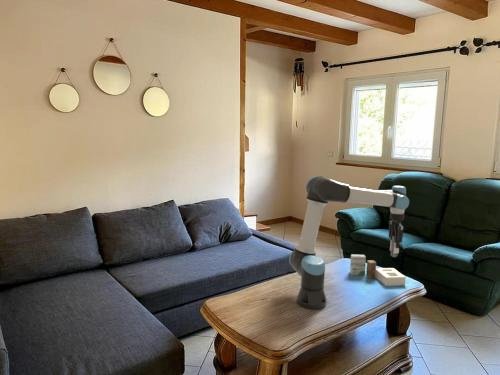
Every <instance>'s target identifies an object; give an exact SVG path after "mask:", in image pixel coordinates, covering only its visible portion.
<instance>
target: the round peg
mask: <svg viewBox="0 0 500 375" xmlns="http://www.w3.org/2000/svg"><path fill="white" fill-rule="evenodd" d="M394 242H395V235H393V236H392V245H391V251H390V257H392V258H397V257H398V253H394Z"/></svg>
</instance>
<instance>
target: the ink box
mask: <svg viewBox="0 0 500 375" xmlns="http://www.w3.org/2000/svg"><path fill="white" fill-rule="evenodd" d="M366 267H367V257H366V255H365V254H350V266H349V273H350V275H355V276H357V275H359V276H366Z"/></svg>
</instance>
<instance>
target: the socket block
mask: <svg viewBox="0 0 500 375" xmlns="http://www.w3.org/2000/svg"><path fill="white" fill-rule="evenodd" d="M375 279H377V280H378V281H379V282H380V283H382V284H383V285H384V286H386V287H388V286H389V287H390V286H391V287H393V286H405V285H406V276H405V275H404V274H402V273H401V272H399V271H398V270H397V269H396V268H394V267H383V268H382V267H380V268H379V267H378V268H377V267H376V274H375Z"/></svg>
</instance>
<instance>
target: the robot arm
mask: <svg viewBox="0 0 500 375" xmlns="http://www.w3.org/2000/svg"><path fill="white" fill-rule="evenodd" d="M305 190H306V193H307V194H306V199H305V200H307V206H306V211H305V216H304V220H303V225H302V227H301V228H302V229H301V232H300V233H301V234H300V238H299V242H298V244H297V245H295V246H294V250H293V251H292V252H291V253H290V254H289V259H288V260H289V265H290V267H291V268H292V270H294V271H295V272H296V273H297V275H299V276H300V289H299V291H298V294H297V296H296V303H297V304H298V305H299V306H300V307H302V308H305V309H308V310H320V309H324V308H325V307H326V306H327V296H326V293H325V289H324V288H325V273H326V271H325V270H326V263H325V261H324V259H322V258H321V257H320V256H316V254H317V251H316V250H315V245H316V242H317V237H318V234H319V231H320V230H319V229H320V225H321V221H322V217H323V213H324V208H325V206H326V205H328V204H329V202H331V203H333V202H334V203H344V204H345V203H347V202H349V203H350V202H351V203H358V204H365V205H371V206H372V205H373V206H380V207H387V208H389V211H390V213H389V219H390V220H389V221H388V238H389V239H390V246H389V252H391V245H392V236H393V235H395V242H394V253H397V254H400V253H399V252H400V243H401V244H402V243H403V236H404V229H405V226H404V225H403V223H402V221H404V220H405V210H406V209H407V208H408V207H409V206H410V205H409V204H410V199H409V198H408V197H407V188H406V187H405V186H402V185H393V186H392V187H391V189H381V190H380V189H378V190H374V189H367V188H360V187H354V186H350V185H349V184H348V183H342V182H339V181H336V180H334V179H331V178H327V177H325V176H322V175H321V176H320V175H315V176H312V177H311V178H309V179H308V180H307V182H306V184H305Z"/></svg>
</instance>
